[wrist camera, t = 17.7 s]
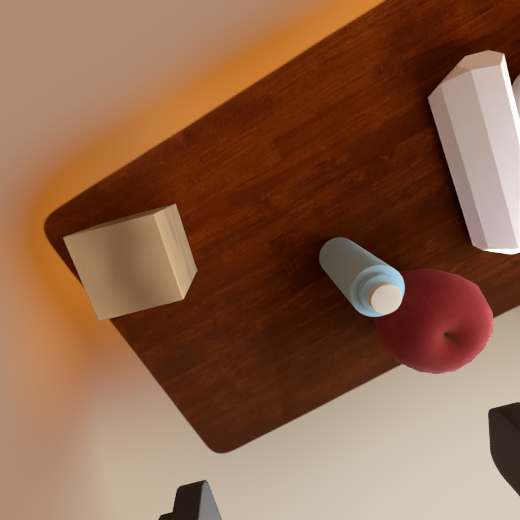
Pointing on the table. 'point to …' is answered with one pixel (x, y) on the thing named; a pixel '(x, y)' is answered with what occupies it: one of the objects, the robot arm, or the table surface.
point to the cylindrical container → (517, 93)
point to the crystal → (482, 147)
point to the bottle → (362, 277)
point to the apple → (436, 322)
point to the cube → (133, 262)
